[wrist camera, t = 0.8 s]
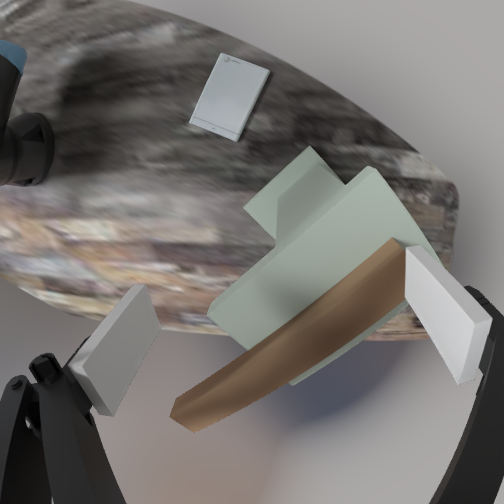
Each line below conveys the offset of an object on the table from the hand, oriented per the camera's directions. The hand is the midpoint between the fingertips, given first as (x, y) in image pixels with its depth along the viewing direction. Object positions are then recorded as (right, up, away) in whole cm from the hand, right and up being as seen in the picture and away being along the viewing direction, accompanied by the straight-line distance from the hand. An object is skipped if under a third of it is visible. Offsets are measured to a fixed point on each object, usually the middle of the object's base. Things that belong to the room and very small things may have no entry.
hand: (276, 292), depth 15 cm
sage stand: (+7, +9, +34) cm, 36 cm away
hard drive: (-4, +26, +29) cm, 39 cm away
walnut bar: (+1, -6, +9) cm, 11 cm away
